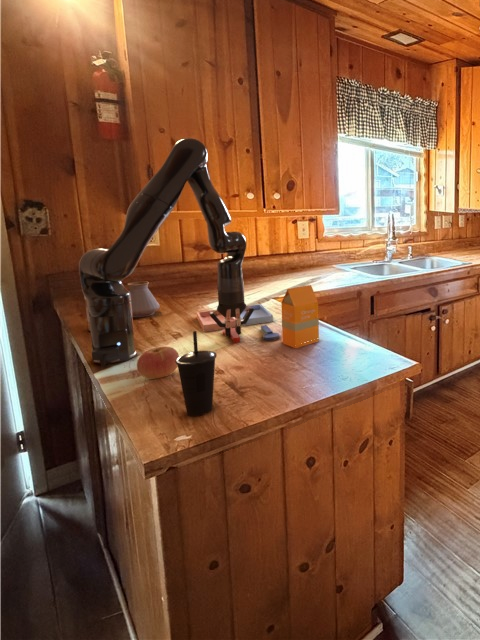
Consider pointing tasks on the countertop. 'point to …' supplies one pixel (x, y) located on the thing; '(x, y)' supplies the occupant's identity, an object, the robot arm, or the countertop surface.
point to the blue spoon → (269, 334)
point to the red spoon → (233, 335)
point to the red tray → (212, 321)
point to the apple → (157, 362)
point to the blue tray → (258, 315)
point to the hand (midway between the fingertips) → (233, 336)
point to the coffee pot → (142, 299)
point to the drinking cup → (197, 379)
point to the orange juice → (300, 317)
